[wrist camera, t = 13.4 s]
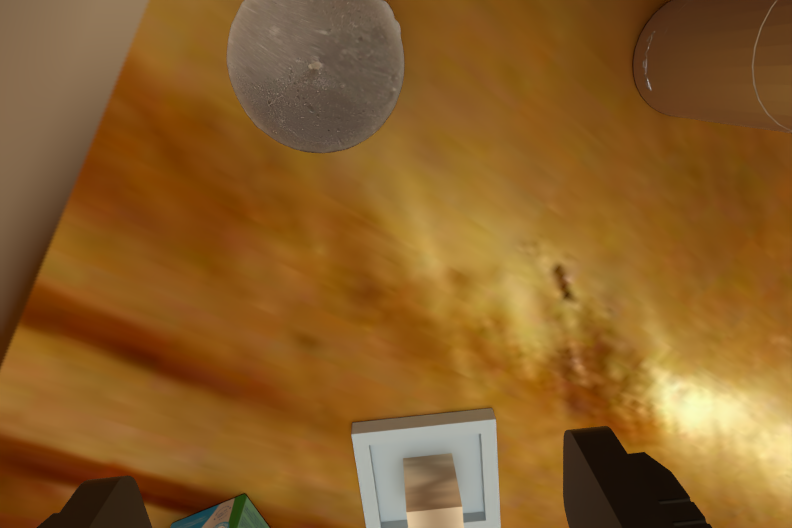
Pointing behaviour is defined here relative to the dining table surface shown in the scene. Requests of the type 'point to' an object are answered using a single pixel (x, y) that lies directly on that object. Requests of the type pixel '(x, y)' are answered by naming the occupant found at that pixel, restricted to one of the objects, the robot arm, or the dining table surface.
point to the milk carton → (225, 516)
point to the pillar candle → (316, 69)
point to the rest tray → (425, 436)
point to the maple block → (432, 492)
